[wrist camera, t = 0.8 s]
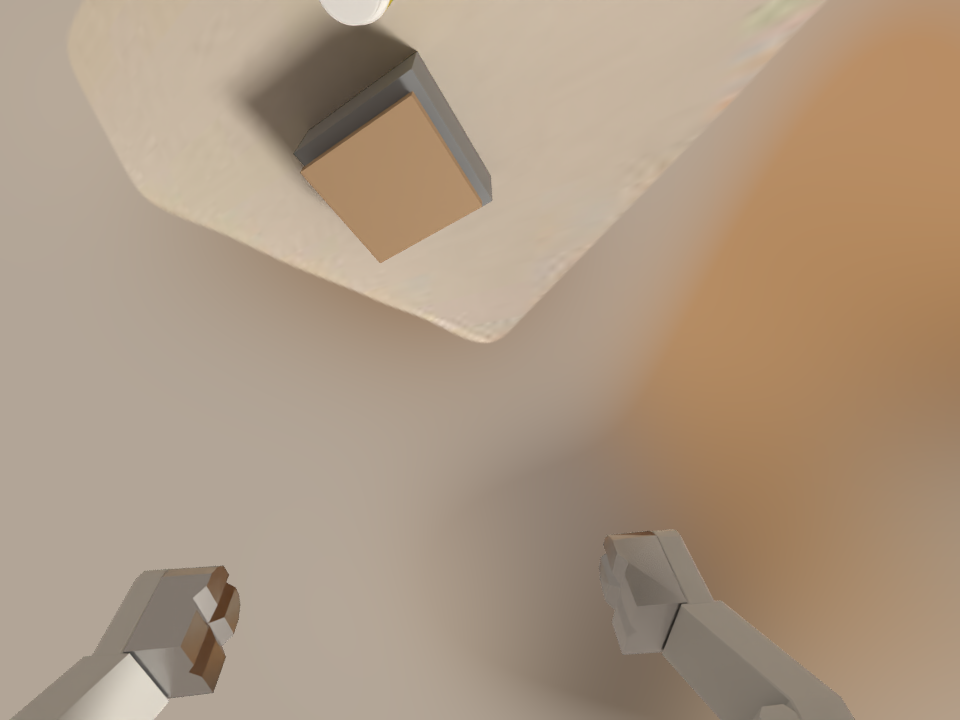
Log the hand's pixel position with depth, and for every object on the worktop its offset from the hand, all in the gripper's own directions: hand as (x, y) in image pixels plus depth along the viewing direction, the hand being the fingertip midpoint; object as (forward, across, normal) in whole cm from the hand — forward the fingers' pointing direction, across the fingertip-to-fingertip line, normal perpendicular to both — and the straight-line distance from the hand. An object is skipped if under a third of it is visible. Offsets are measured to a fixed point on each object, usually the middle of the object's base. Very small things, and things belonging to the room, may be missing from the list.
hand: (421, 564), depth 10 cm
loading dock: (+42, +3, -1) cm, 42 cm away
